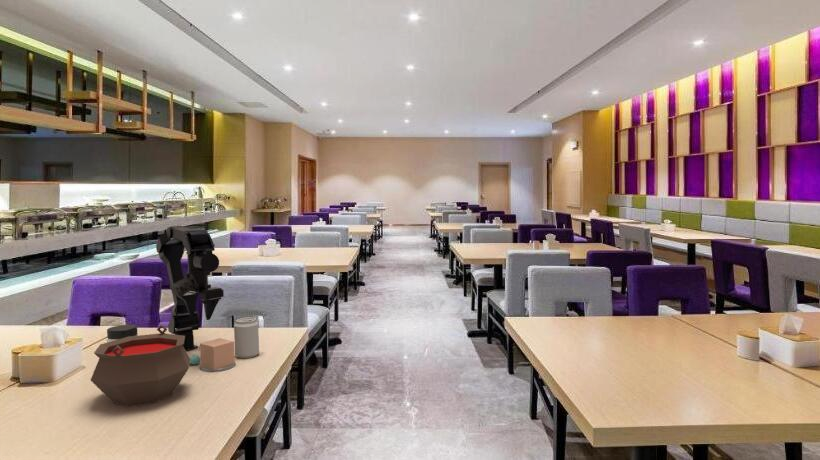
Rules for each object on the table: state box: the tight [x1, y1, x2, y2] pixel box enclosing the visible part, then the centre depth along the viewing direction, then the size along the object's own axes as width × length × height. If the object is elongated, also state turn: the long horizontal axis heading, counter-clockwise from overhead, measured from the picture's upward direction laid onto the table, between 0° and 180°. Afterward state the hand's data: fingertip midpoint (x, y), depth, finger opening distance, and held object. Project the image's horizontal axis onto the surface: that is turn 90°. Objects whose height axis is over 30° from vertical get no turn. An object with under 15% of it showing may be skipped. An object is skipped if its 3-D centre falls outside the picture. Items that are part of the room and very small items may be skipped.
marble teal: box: [189, 354, 201, 366], centre depth 164 cm, size 3×3×3 cm
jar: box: [106, 324, 139, 343], centre depth 163 cm, size 9×8×12 cm
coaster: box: [199, 362, 236, 373], centre depth 161 cm, size 10×10×1 cm
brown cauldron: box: [90, 323, 191, 407], centre depth 138 cm, size 24×24×16 cm
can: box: [233, 316, 260, 359], centre depth 172 cm, size 8×8×12 cm
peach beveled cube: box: [199, 337, 236, 370], centre depth 161 cm, size 7×7×7 cm
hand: (199, 318), depth 169 cm, fingers open, 9 cm apart
